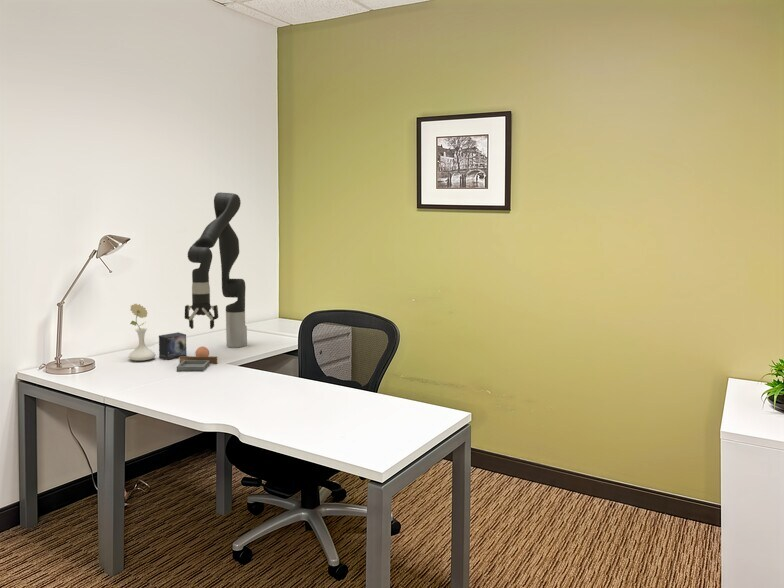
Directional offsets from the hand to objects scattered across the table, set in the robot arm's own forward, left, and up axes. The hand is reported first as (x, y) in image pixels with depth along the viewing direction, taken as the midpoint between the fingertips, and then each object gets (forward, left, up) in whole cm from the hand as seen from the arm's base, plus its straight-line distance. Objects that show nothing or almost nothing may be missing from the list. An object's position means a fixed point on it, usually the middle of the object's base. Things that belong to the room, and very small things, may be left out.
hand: (201, 328), depth 284 cm
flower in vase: (+13, -24, -15) cm, 31 cm away
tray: (+13, +7, -14) cm, 21 cm away
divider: (+6, +3, -14) cm, 16 cm away
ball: (0, 0, -14) cm, 14 cm away
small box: (+3, -15, -15) cm, 21 cm away
